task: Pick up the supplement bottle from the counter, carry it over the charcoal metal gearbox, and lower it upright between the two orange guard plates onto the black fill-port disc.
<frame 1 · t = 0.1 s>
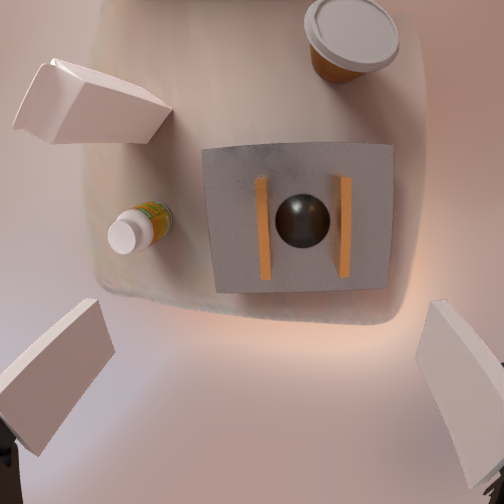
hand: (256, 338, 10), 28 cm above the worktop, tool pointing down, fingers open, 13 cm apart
milk: (146, 115, 34), on the worktop
supplement bottle: (156, 218, 39), on the worktop
gearbox: (299, 211, 36), on the worktop
disposable coffee cup: (335, 62, 29), on the worktop
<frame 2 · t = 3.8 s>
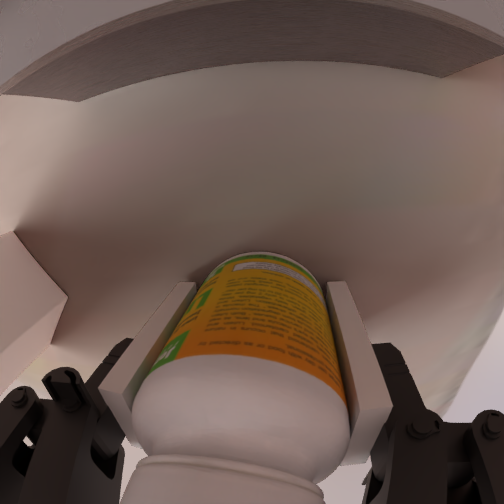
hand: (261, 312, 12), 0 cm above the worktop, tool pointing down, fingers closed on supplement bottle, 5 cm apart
milk: (31, 290, 14), on the worktop
supplement bottle: (262, 305, 12), on the worktop, touching gripper
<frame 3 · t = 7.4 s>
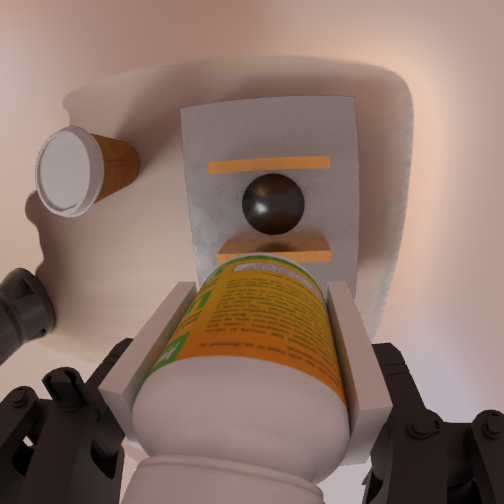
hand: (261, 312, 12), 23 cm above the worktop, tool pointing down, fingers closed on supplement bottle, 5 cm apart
milk: (181, 335, 41), on the worktop
supplement bottle: (262, 306, 12), point 22 cm above the worktop, touching gripper
gearbox: (275, 196, 33), on the worktop
disposable coffee cup: (120, 164, 34), on the worktop
when the fingers open (8 cm above the worktop, at t = 11.1 s): supplement bottle drops 1 cm, resting on gearbox.
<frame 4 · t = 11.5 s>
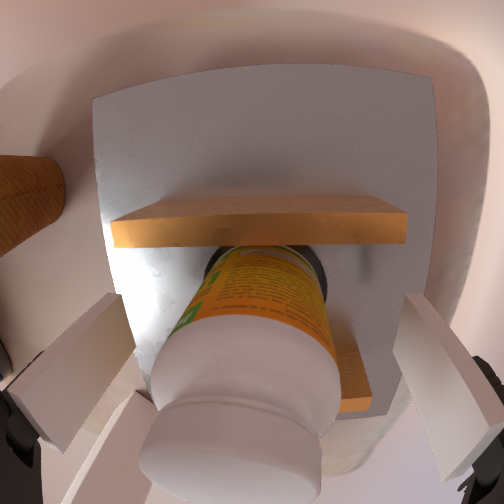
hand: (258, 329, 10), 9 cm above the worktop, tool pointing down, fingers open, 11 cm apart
milk: (146, 412, 28), on the worktop
supplement bottle: (263, 291, 14), point 6 cm above the worktop, touching gearbox
gearbox: (271, 250, 19), on the worktop
disposable coffee cup: (45, 190, 20), on the worktop
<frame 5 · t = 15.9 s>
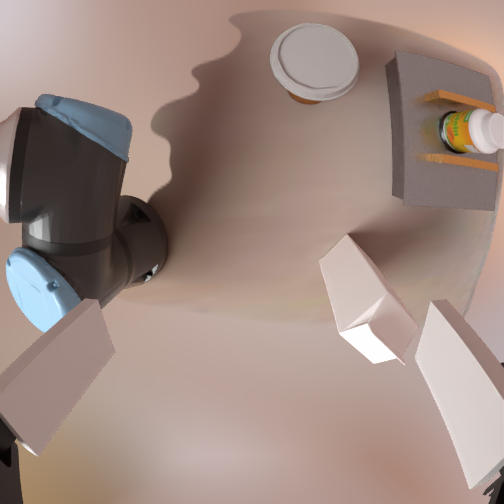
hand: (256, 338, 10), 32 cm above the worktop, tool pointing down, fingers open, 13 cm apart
milk: (345, 259, 42), on the worktop
supplement bottle: (456, 132, 27), point 6 cm above the worktop, touching gearbox
gearbox: (436, 134, 33), on the worktop
disposable coffee cup: (308, 84, 34), on the worktop
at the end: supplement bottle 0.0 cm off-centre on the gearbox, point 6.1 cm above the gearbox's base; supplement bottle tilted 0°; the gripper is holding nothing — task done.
